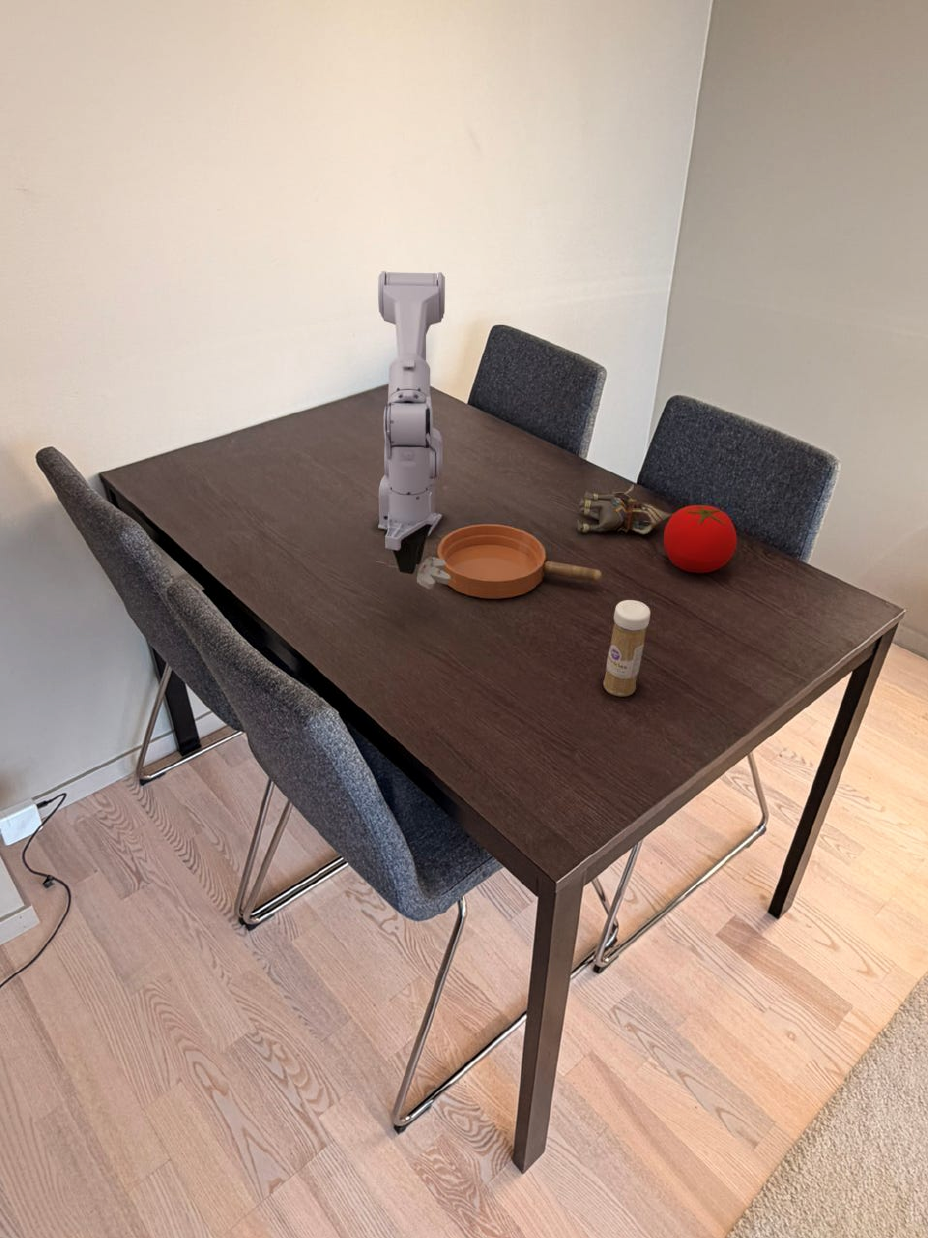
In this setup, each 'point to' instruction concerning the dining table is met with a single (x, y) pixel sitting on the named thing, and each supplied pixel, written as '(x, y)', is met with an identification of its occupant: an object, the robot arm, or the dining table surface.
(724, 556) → the tomato
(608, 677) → the sprinkles bottle
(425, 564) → the game controller
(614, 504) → the figurine
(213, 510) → the dining table surface
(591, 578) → the pan handle
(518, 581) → the pan
